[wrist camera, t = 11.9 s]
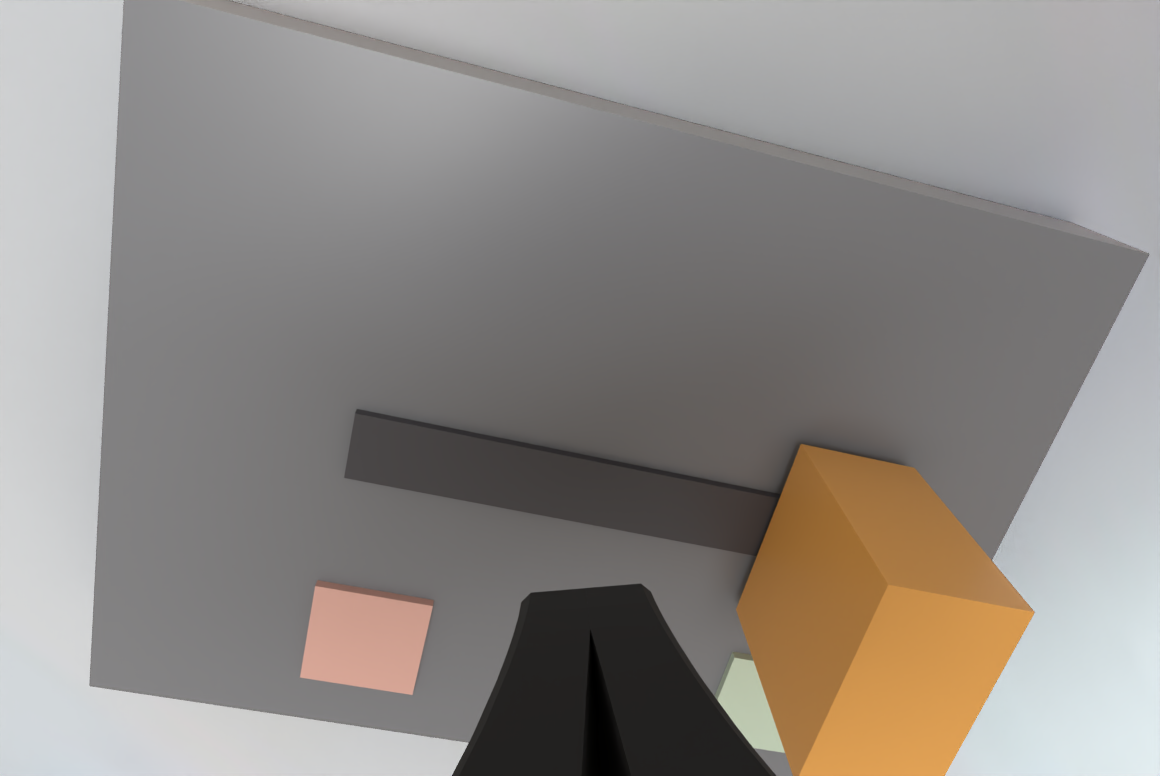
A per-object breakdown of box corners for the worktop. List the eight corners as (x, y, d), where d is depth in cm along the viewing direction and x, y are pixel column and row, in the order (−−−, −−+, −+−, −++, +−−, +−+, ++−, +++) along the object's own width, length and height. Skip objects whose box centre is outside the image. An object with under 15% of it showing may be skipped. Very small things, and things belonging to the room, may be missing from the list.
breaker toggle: (914, 467, 17) (1034, 612, 13) (841, 628, 19) (928, 803, 15) (801, 444, 17) (887, 584, 13) (735, 609, 18) (795, 783, 14)
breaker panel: (1072, 223, 18) (1156, 256, 16) (834, 724, 24) (870, 808, 21) (183, -12, 16) (118, -16, 13) (137, 611, 21) (85, 693, 19)
